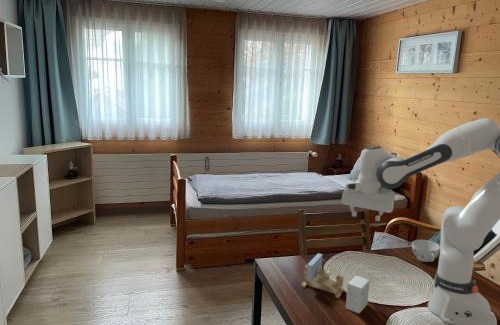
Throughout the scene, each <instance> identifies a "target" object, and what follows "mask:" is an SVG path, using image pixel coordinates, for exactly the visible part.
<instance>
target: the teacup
mask: <svg viewBox="0 0 500 325" xmlns="http://www.w3.org/2000/svg"><path fill="white" fill-rule="evenodd" d="M411 248H412V249H411V250H412V252H413V254H414V256H415V257H416V259H417V260H419V261H420V262H422V263H429V262H434V261H435V259H436V258H437V257H438V256H439V255H440V244H438V243H436V242H435V241H431V240H428V239H415V240H413V241H411Z"/></svg>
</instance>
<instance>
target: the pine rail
mask: <svg viewBox="0 0 500 325" xmlns="http://www.w3.org/2000/svg"><path fill="white" fill-rule="evenodd" d="M330 272H331V271H330V270H325V269H322V268H321V269H318V270H317V275H316V277H315V278H314V279H313V280H312V281H311V282H310V281H307V264H306V265H305V266H304V269H303V281H302V282H301V284H300V287H301V288H303V289H304V288H306V287H307V286H309V287H311V288H315V289H320V290H322V291H325V292H329V293H332V294H334V298H336V299H339V298H340V297H341V295H342V294H343V293H344V291H345V287H343V286H344V274H340V273H337V274H336V276H335V277H336V278H335V279H334V278H330Z"/></svg>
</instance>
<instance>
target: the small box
mask: <svg viewBox="0 0 500 325" xmlns="http://www.w3.org/2000/svg"><path fill="white" fill-rule="evenodd" d="M370 282H371V281H370V279H367V278H365V277H362V276H359V275H355V276H354V277H353V278H352V279H351V280H349V282H348V283H347V285H346V286H347V287H346V288H347V289H346V300H345V309H347V310H349V311H351V312H354V313H356V314H360V313H361V312H362V311H363V310H364V309H365V308H366V306H368V301H369V294H370V293H369V291H370V284H371V283H370Z"/></svg>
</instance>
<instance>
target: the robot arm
mask: <svg viewBox="0 0 500 325" xmlns="http://www.w3.org/2000/svg"><path fill="white" fill-rule="evenodd" d="M485 150H487V151H488V150H491V151H492V152H493V153H494V154H495V155H496V156H497V157H498V158H500V126H499V124H498V123H497V122H496V120H495V121H494V120H493V119H491V118H488V117H484V118H479V119H475V120H472V121H468V122H466V123H463V124H460V125H458V126H456V127H454V128H451V129H449V130H448V131H446V132H444V133H443V134H440V135H439V136H438V137H437V138H436V140H435V141H434V142H433V143H432V144H431V145H430V146H429V147H428V148H426V149H424V150H422V151H421V152H417V153H416V154H413V155H412V156H409V157H407V158H403V157H401V156H397V155H395V154H392V153H390V152H388V151H386V150H385V149H384V148H383V147H382V146H378V145H375V146H374V145H373V146H367V147H365V148H363V149H362V150H361V151H360V155H359V156H360V157H359V163H358V170H359V172H358V176H357V179H353V180H349V181H348V182H346V184H345V189H344V190H343V192H342V195H341V203H342V205H345V206H349V209H350V211H351V217H354V218H356V217H357V213H358V211H356V210H355V209H354V208H355V207H357V208H361V209H366V210H372V211H376V212H378V214H379V215H375V217H374V218H375V220H374V221H375V222H380V219H381V217H382V215H383V214H384V213H388V214H391V213H392V212H393V210H394V201H395V198H396V192H395V191H394V190H392V189H396V188H399V187H401V186H402V185H403V184H404V182H406V180H408V179H409V178H410V177H411V176H412V177H413V175H416V174H419V173H421V172H423V171H425V170H428V169H430V168H434V167H435V166H439V165H442V164H444V163H449V162H452V161H456V160H460V159H463V158H467V157H469V156H471V155H474V154H476V153H479V152H482V151H485ZM381 186H383V187H381ZM499 221H500V171H499V172H498V173H496V174H495V175H494V176H493V177H492V178H491V179H489V180H488V181H487V182H486V183H485V184H483V185H482V187H480V188H479V189H478V190H477V191H476V192H474V194H473V195H472V197H471V199H470V200H469V202H468V203H467V205H465V207H462V206H460V205H452V206H450V207H448V208H446V209H445V210H444V212H443V214H442V216H441V225H440V226H441V228H440V242H439V246H440V251H439V258H438V263H437V264H438V265H437V270H436V271H435V276H434V281H433V282H434V283H433V284H434V286H433V287H434V288H433V291H432V294H431V297H430V299H429V300H428V303H427V307H428V309H429V310H430V311H431V313H433V314H435V316H437V317H439V318H440V319H441V320H442V321H443V323H445V324H448V325H498V321H497V317H496V315H495V313H494V312H492V311H491V310H492V309H491V306H490V303H489V301H488V299H487V298H485V297H484V296H483V295H482V294H481V293H480V292H479V287H478V284H477V282H476V280H475V279H472V276H473V269H474V262H475V254H474V252H475V251H477V250H478V249H480V247H481V246H483V243H484V241H485V238H486V237H487V236H488V234H490V232H491V230H492V229H493V228H494V227H495V226H496V224H497V223H498V222H499Z"/></svg>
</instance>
